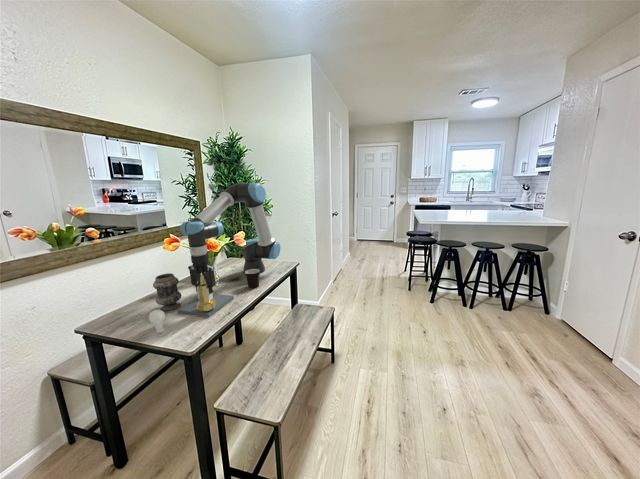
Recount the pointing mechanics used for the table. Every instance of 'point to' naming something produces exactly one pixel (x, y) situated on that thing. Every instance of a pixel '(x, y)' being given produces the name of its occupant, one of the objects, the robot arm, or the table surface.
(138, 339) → the table surface
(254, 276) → the coffee mug
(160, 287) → the apothecary jar
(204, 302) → the gear
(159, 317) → the lightbulb
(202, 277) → the seated planet gear
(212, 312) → the carrier plate
